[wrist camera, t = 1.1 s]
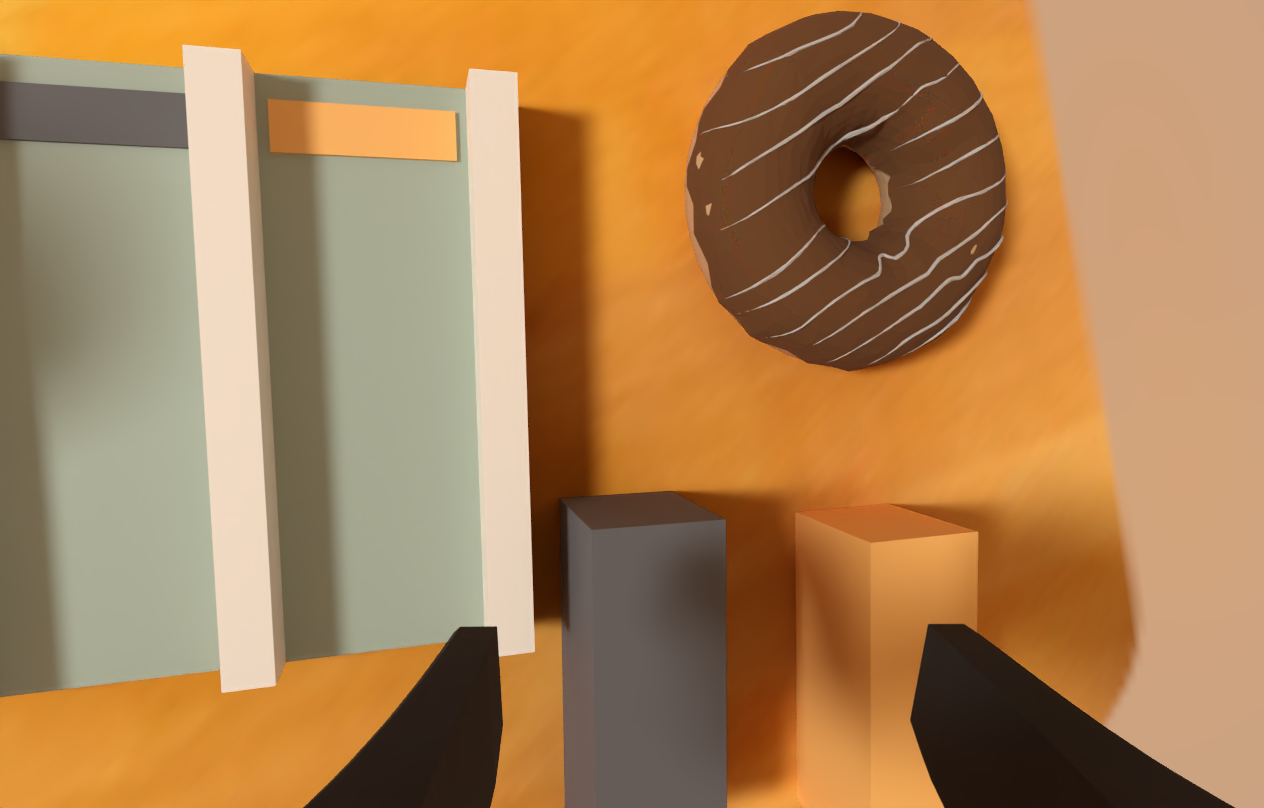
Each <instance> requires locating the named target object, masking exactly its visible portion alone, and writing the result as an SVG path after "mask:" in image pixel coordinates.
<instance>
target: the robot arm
mask: <svg viewBox="0 0 1264 808" xmlns="http://www.w3.org/2000/svg"><path fill="white" fill-rule="evenodd" d="M910 722H911V725H912V728H913V731H914V734H915V737H916V740H917V743H918V746H919V749H920V751H921V754H922V757H923V760H924V762H925V765H926V768H927V771H928V773H929V776H930V779H931V781H932V783H933V785H934V787H935V790H936V792H937V794H938V796H939V798H940V800H941V802H942V804H943V806H944V808H1235V807H1233V806H1231V805H1229V804H1228V803H1226V802H1224V801H1222V800H1221V799H1219V798H1217V797H1215V796H1214V795H1212V794H1210V793H1209V792H1207V791H1205V790H1204V789H1202V788H1200V787H1198V786H1197V785H1195V784H1193V783H1192V782H1190V781H1188V780H1187V779H1185V778H1183V777H1182V776H1180V775H1178V774H1177V773H1174V772H1173V771H1172V770H1170V769H1168V768H1167V767H1165V766H1164V765H1162V764H1160V763H1159V762H1157V761H1156V760H1154V759H1152V758H1151V757H1149V756H1148V755H1146V754H1145V753H1143V752H1142V751H1140V750H1139V749H1137V748H1136V747H1134V746H1133V745H1131V744H1130V743H1128V742H1127V741H1125V740H1124V739H1122V738H1121V737H1119V736H1118V735H1116V734H1115V733H1113V732H1112V731H1110V730H1109V729H1107V728H1106V727H1105V726H1103V725H1102V724H1100V723H1099V722H1097V721H1096V720H1095V719H1093V718H1092V717H1090V716H1089V715H1087V714H1086V713H1085V712H1083V711H1082V710H1080V709H1079V708H1078V707H1076V706H1075V705H1074V704H1072V703H1071V702H1069V701H1068V700H1067V699H1065V698H1064V697H1063V696H1061V695H1060V694H1059V693H1057V692H1056V691H1054V690H1053V689H1052V688H1050V687H1049V686H1048V685H1046V684H1045V683H1044V682H1042V681H1041V680H1040V679H1038V678H1037V677H1036V676H1034V675H1033V674H1032V673H1030V672H1029V671H1028V670H1026V669H1025V668H1024V667H1022V666H1021V665H1020V664H1018V663H1017V662H1016V661H1014V660H1013V659H1012V658H1011V657H1009V656H1008V655H1007V654H1005V653H1004V652H1003V651H1001V650H1000V649H999V648H997V647H996V646H995V645H993V644H992V643H991V642H989V641H988V640H986V639H985V638H984V637H982V636H981V635H980V634H978V633H977V632H975V631H974V630H972V629H971V628H969V627H968V626H967V625H965V624H928V627H927V632H926V638H925V643H924V648H923V654H922V659H921V664H920V670H919V675H918V680H917V686H916V691H915V696H914V701H913V707H912V712H911V717H910ZM502 727H503V719H502V701H501V684H500V667H499V650H498V633H497V626H477V627H459V628H458V629H457V630H456V631H455V632H454V633H453V634H452V636H451V637H450V638H449V640H448V641H447V643H446V644H445V646H444V647H443V649H442V650H441V651H440V653H439V654H438V656H437V657H436V658H435V660H434V661H433V663H432V664H431V665H430V667H429V668H428V669H427V671H426V672H425V673H424V675H423V676H422V677H421V679H420V680H419V681H418V683H417V684H416V685H415V686H414V688H413V689H412V690H411V691H410V693H409V694H408V695H407V696H406V698H405V699H404V700H403V701H402V703H401V704H400V705H399V706H398V708H397V709H396V710H395V711H394V712H393V714H392V715H391V716H390V717H389V719H388V720H387V721H386V722H385V723H384V724H383V726H382V727H381V728H380V729H379V730H378V731H377V732H376V733H375V734H374V736H373V737H372V738H371V739H370V740H369V741H368V742H367V743H366V744H365V746H364V747H363V748H362V749H361V750H360V751H359V752H358V753H357V754H356V756H355V757H354V758H353V759H352V760H351V761H350V762H349V763H348V764H347V765H346V766H345V767H344V768H343V769H342V770H341V771H340V772H339V773H338V774H337V776H336V777H335V778H334V779H333V780H332V781H331V782H330V783H329V784H328V785H327V786H325V787H324V788H323V789H322V790H321V791H320V792H319V793H318V794H317V795H316V796H315V797H314V798H313V799H312V800H311V801H310V802H309V803H308V804H307V805H306V806H305V807H303V808H490V806H491V802H492V797H493V793H494V789H495V783H496V776H497V768H498V760H499V752H500V744H501V735H502Z"/></svg>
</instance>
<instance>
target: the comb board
mask: <svg viewBox="0 0 1264 808" xmlns="http://www.w3.org/2000/svg"><path fill="white" fill-rule="evenodd" d="M182 48H183V65H184V68H180V67H167V66H154V65H141V64H127V63H114V62H101V61H87V60H74V59H61V58H47V57H34V56H21V55H8V54H0V697H5V696H13V695H21V694H29V693H38V692H46V691H54V690H62V689H70V688H78V687H86V686H94V685H102V684H111V683H119V682H127V681H135V680H143V679H151V678H159V677H167V676H176V675H184V674H192V673H200V672H208V671H216V670H220V674H221V691H222V693H224V692H232V691H240V690H247V689H255V688H263V687H270V686H276V684H277V682H278V679H279V677H280V675H281V672H282V670H283V668H284V665H285V663H286V662H289V661H297V660H305V659H313V658H322V657H330V656H338V655H346V654H354V653H362V652H370V651H378V650H387V649H395V648H403V647H411V646H419V645H427V644H435V643H443V642H447V641H448V640H449V638H450V637H451V636H452V634H453V633H454V632H455V631H456V630H457V629H458V628H459V627H477V626H497V633H498V650H499V657H500V656H507V655H515V654H522V653H530V652H535V641H534V608H533V575H532V543H531V510H530V477H529V444H528V411H527V378H526V346H525V313H524V280H523V247H522V214H521V182H520V149H519V116H518V83H517V72H506V71H494V70H482V69H469V73H468V78H467V83H466V89H460V88H446V87H433V86H420V85H406V84H393V83H380V82H366V81H353V80H340V79H327V78H313V77H300V76H287V75H273V74H260V73H254V72H253V70H252V69H251V67H250V65H249V63H248V62H247V60H246V58H245V56H244V55H243V53H242V51H241V50H240V49H228V48H216V47H204V46H191V45H182Z"/></svg>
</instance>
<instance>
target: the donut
mask: <svg viewBox="0 0 1264 808" xmlns="http://www.w3.org/2000/svg"><path fill="white" fill-rule="evenodd" d="M839 147H846V148H848V149H850V150H852V151H854V152H856V153H857V154H858V155H859V156H861V157H862V158H863V159H864V160H865V162H866V163H867V164H868V166H869V167H870V168H871V170H872V172H873V174H874V175H875V178H876V181H877V184H878V187H879V190H880V198H881V213H880V217H879V222H878V226H877V228H875V229H873V230H872V231H870V232H869V237H868V240H865V241H856V242H850V240H849V239H847V238H843V239H842V238H840V237H838V236H836V235H834V234H832V233H831V232H830V230H829V229H828V228H827V227H826V225H825V224H824V223H823V222H822V220H821V218H820V216H819V214H818V212H817V210H816V206H815V202H814V197H813V195H814V186H815V177H816V170H817V168H818V167H819V165H820V164H821V162H822V161H823V159H824V158H825V157H826V156H827V155H828V154H829V153H830V152H832V151H834V150H835V149H837V148H839ZM1005 176H1006V171H1005V163H1004V157H1003V150H1002V145H1001V142H1000V139H999V134H998V132H997V129H996V125H995V122H994V119H993V115H992V114H991V112H990V110H989V108H988V106H987V105H986V103H985V101H984V99H983V94H982V92H979V90H978V88H977V86H976V84H975V83H974V81H973V79H972V78H971V77H970V76H969V75H968V74H967V72H966V71H965V70H964V69H963V68H962V66H961V65H960V64H959V63H958V62H957V61H956V59H955V58H954V57H953V56H952V55H951V54H949V53H948V52H947V51H946V50H945V49H943V48H942V47H941V46H940V45H938V44H937V43H936V42H935V41H933V38H930V37H928V36H927V35H925V34H924V33H922V32H921V31H919V30H917V29H915V28H913V27H910V26H907V25H905V24H902V23H900V22H899V21H897V20H890V19H887V18H884V17H881V16H878V15H875V14H872V13H862V12H848V11H835V12H828V13H821V14H815V15H811V16H808V17H805V18H802V19H800V20H797V21H795V22H793V23H791V24H788V25H786V26H784V27H782V28H779V29H777V30H775V31H773V32H771V33H769V34H766V35H765V36H763V37H761V38H759V39H758V40H756V41H754V42H752V43H750V44H749V45H748V46H747V47H746V49H745V50H744V51H743V52H742V53H741V55H740V56H739V57H738V58H737V60H736V61H735V62H734V63H733V65H732V66H731V67H730V68H729V69H728V71H727V73H726V74H725V75H724V77H723V78H722V79H721V80H720V82H719V83H718V85H717V86H716V88H715V89H714V91H713V92H712V94H711V96H710V97H709V99H708V101H707V103H706V105H705V107H704V108H703V111H702V113H701V116H700V119H699V121H698V124H697V126H696V129H695V132H694V134H693V137H692V141H691V145H690V149H689V153H688V159H687V169H686V178H685V207H686V217H687V223H688V229H689V235H690V239H691V242H692V245H693V248H694V251H695V254H696V257H697V260H698V263H699V266H700V268H701V270H702V272H703V274H704V276H705V278H706V280H707V282H708V284H709V286H710V288H711V289H712V291H713V292H714V293H715V295H716V297H717V299H718V301H719V303H720V304H721V305H722V306H723V307H724V308H725V309H727V310H728V312H729V313H730V314H731V315H732V316H733V317H734V318H735V319H736V320H737V321H738V322H739V324H741V325H742V327H743V328H744V329H745V330H746V332H747V333H748V334H749V335H750V336H751V337H753V338H755V339H757V340H759V341H760V342H763V343H766V344H768V345H770V346H771V347H773V348H775V349H777V350H779V351H781V352H783V353H785V354H787V355H789V356H792V357H796V358H799V359H801V360H803V361H805V362H806V363H811V364H818V365H825V366H832V367H835V368H839V369H842V370H846V371H853V370H859V369H863V368H867V367H871V366H875V365H879V364H882V363H886V362H889V361H892V360H894V359H896V358H898V357H901V356H904V355H906V354H908V353H910V352H912V351H914V350H916V349H918V348H920V347H922V346H924V345H926V344H928V343H930V342H931V341H933V340H935V339H936V338H938V337H939V336H941V335H942V334H943V333H944V332H945V331H946V330H947V329H948V328H949V327H950V326H951V325H952V324H954V323H955V322H956V321H957V320H958V319H959V318H960V316H961V315H962V314H963V312H964V311H965V310H966V308H967V307H968V305H969V303H970V301H971V299H972V297H973V293H974V292H975V290H976V288H977V286H978V285H979V284H980V283H981V282H982V280H983V279H984V278H985V277H986V275H987V271H986V269H987V267H988V265H989V263H990V261H991V258H992V256H993V254H994V252H995V250H996V249H997V248H998V247H999V246H1000V244H1001V243H1002V241H1003V238H1004V237H1003V235H1002V234H1001V233H1002V229H1003V225H1004V216H1005V207H1006V206H1007V204H1008V200H1007V199H1006V200H1007V204H1006V201H1005ZM1005 205H1006V206H1005ZM1000 238H1001V239H1000ZM845 239H847V240H845ZM984 273H985V275H984ZM983 275H984V276H983Z"/></svg>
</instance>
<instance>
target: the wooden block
mask: <svg viewBox="0 0 1264 808" xmlns="http://www.w3.org/2000/svg"><path fill="white" fill-rule="evenodd" d="M795 549H796V691H797V800H798V801H799V802H800V803H801V804H802V806H803V807H804V808H944V806H943V804H942V802H941V800H940V798H939V796H938V794H937V792H936V790H935V787H934V785H933V783H932V781H931V779H930V776H929V773H928V771H927V768H926V765H925V762H924V760H923V757H922V754H921V751H920V749H919V746H918V743H917V740H916V737H915V734H914V731H913V728H912V725H911V722H910V717H911V712H912V707H913V701H914V696H915V691H916V686H917V680H918V675H919V670H920V664H921V659H922V654H923V648H924V643H925V638H926V632H927V627H928V624H965V625H967V626H968V627H969V628H971V629H972V630H974V631H975V632H977V615H978V531H975V530H972V529H968V528H965V527H962V526H959V525H956V524H952V523H949V522H946V521H943V520H940V519H936V518H933V517H930V516H927V515H923V514H920V513H917V512H914V511H911V510H907V509H904V508H901V507H898V506H895V505H891V504H879V505H868V506H857V507H845V508H834V509H823V510H812V511H801V512H795Z"/></svg>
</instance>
